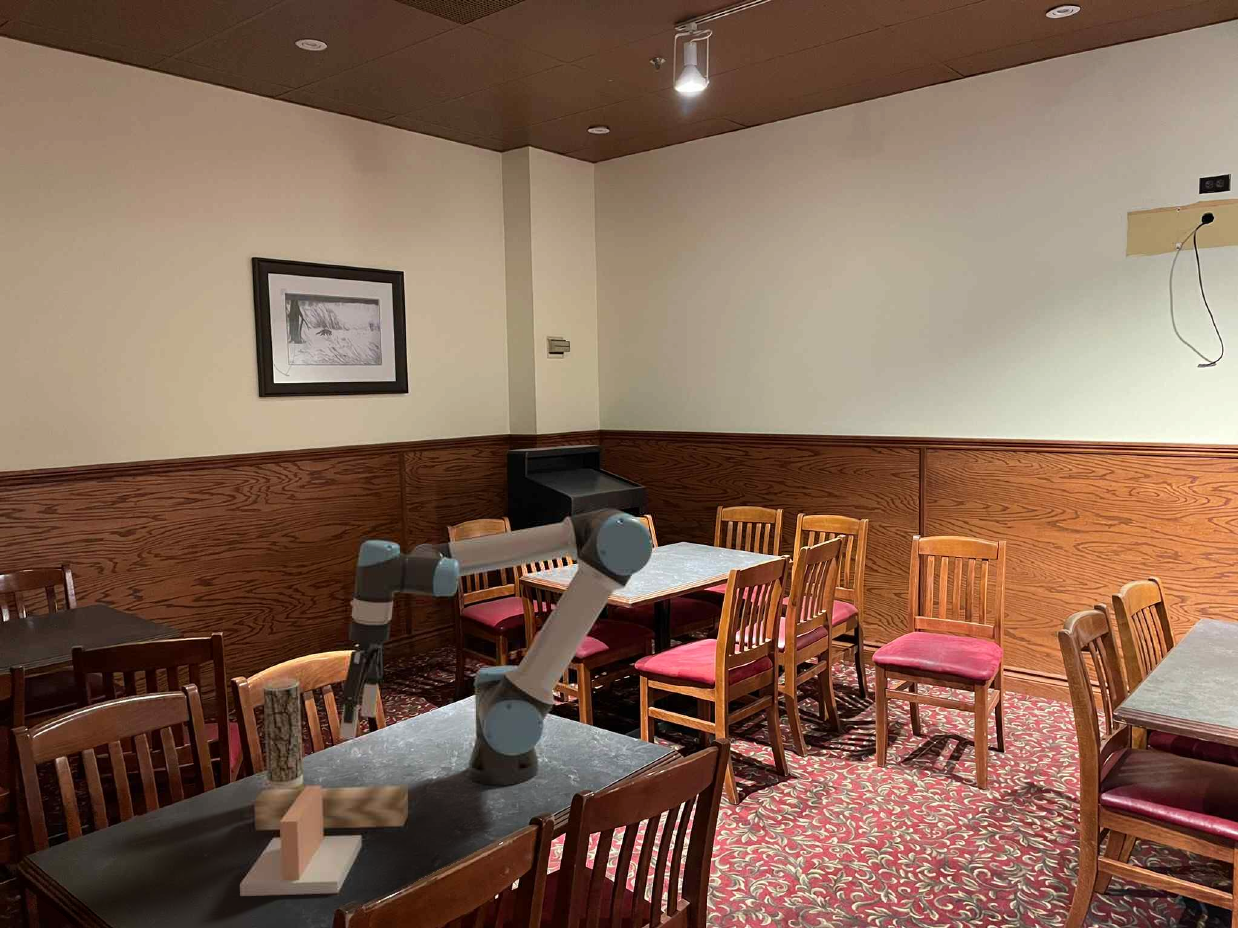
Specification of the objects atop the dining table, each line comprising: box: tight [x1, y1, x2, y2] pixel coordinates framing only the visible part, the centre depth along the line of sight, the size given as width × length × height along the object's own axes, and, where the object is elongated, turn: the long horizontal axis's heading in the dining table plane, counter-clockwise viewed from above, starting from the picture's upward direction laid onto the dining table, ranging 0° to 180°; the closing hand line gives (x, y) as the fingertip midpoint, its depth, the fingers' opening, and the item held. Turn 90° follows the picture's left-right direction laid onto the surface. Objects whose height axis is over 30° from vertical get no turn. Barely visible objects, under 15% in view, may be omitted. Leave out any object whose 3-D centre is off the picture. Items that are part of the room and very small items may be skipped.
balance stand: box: [239, 785, 363, 897], centre depth 158 cm, size 16×16×12 cm
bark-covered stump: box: [262, 677, 304, 790], centre depth 184 cm, size 7×7×25 cm
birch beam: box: [253, 785, 409, 831], centre depth 176 cm, size 28×5×6 cm, turn 92°
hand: (357, 726), depth 178 cm, fingers open, 13 cm apart
